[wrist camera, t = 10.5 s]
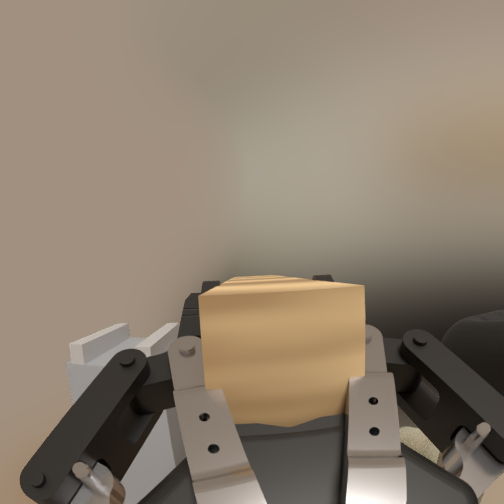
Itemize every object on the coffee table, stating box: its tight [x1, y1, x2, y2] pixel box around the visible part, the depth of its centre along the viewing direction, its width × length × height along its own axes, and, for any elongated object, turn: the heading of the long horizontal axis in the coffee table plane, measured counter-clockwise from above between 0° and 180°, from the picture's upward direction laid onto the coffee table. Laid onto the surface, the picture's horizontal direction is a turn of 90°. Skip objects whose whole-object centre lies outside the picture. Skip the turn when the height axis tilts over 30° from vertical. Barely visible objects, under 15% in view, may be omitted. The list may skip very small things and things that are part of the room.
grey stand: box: [66, 323, 186, 504], centre depth 32 cm, size 14×10×34 cm
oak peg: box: [198, 275, 365, 427], centre depth 20 cm, size 26×4×4 cm, turn 1°
